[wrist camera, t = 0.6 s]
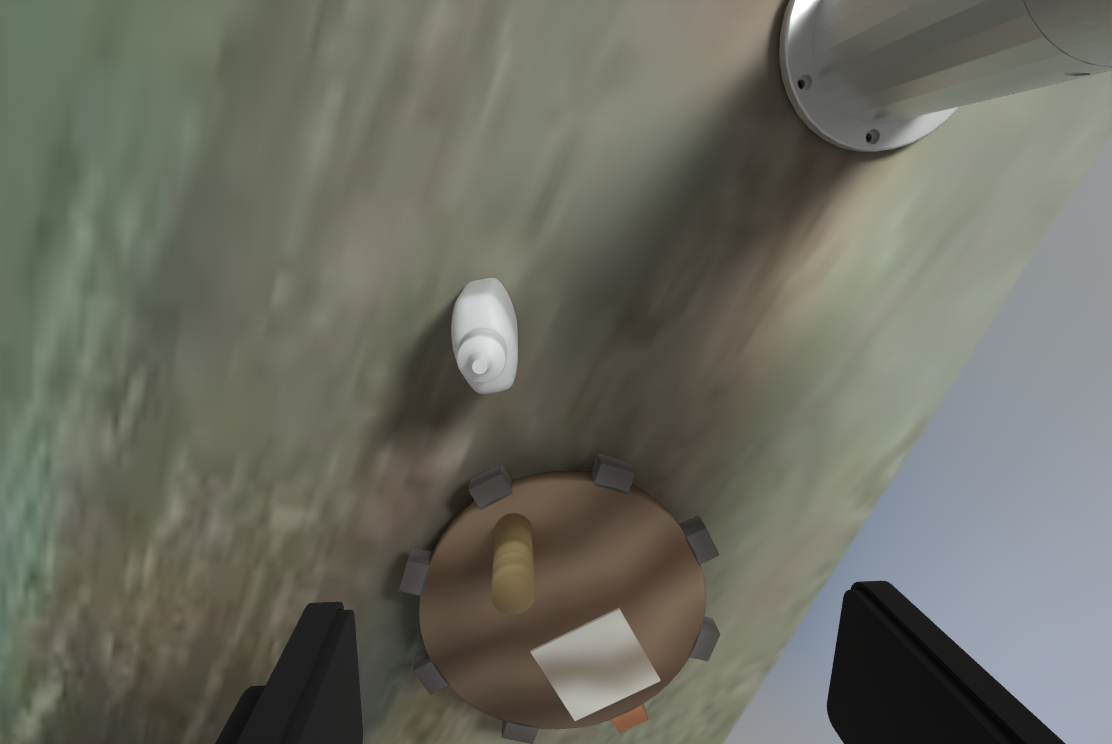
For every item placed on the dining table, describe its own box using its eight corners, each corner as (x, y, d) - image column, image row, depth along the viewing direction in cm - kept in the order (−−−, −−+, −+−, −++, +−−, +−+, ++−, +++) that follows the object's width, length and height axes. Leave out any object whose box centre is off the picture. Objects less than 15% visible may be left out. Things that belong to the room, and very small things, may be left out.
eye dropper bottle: (445, 349, 39) (416, 408, 27) (470, 269, 38) (451, 294, 26) (508, 369, 40) (506, 434, 28) (535, 290, 38) (543, 324, 27)
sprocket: (339, 545, 40) (293, 632, 32) (637, 394, 39) (671, 444, 30) (499, 768, 46) (496, 892, 38) (763, 645, 45) (820, 744, 36)
